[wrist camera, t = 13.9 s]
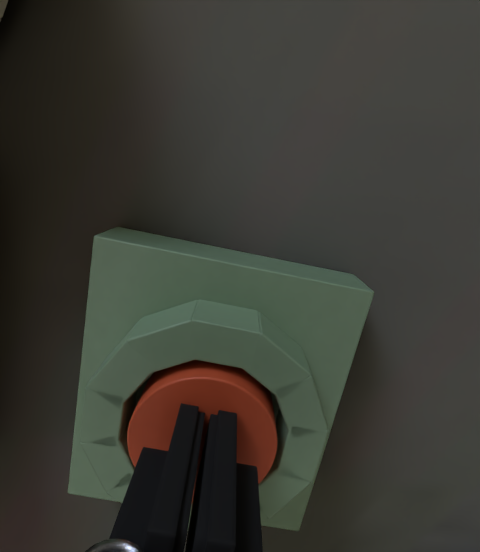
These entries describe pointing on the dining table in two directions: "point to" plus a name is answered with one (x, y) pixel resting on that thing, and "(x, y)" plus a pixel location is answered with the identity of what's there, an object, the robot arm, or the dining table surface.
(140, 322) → the button block
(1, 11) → the basin
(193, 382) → the button
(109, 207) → the dining table surface
